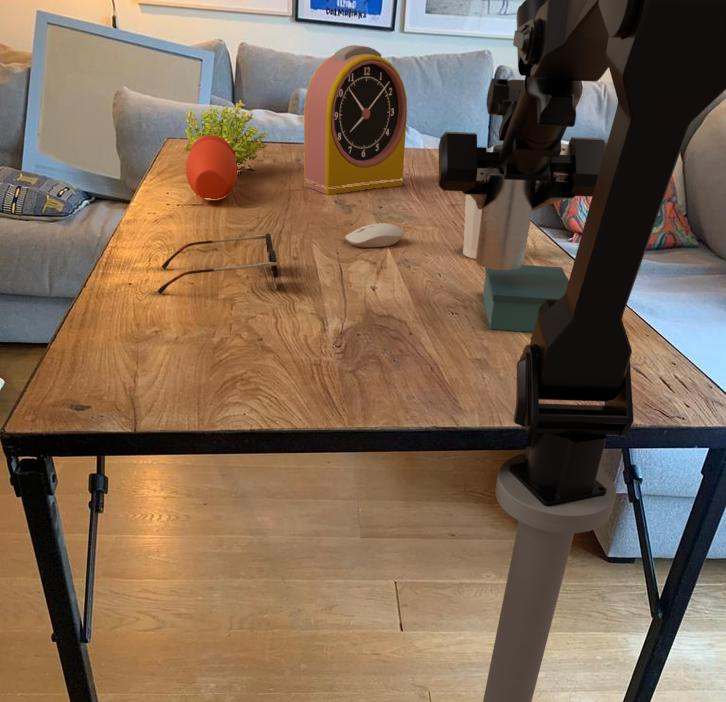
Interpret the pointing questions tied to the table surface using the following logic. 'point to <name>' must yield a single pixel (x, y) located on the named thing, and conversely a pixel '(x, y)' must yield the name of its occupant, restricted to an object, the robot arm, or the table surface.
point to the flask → (505, 222)
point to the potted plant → (218, 151)
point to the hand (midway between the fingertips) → (505, 207)
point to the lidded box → (520, 295)
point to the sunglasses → (271, 258)
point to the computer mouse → (375, 235)
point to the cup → (471, 227)
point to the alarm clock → (354, 122)
